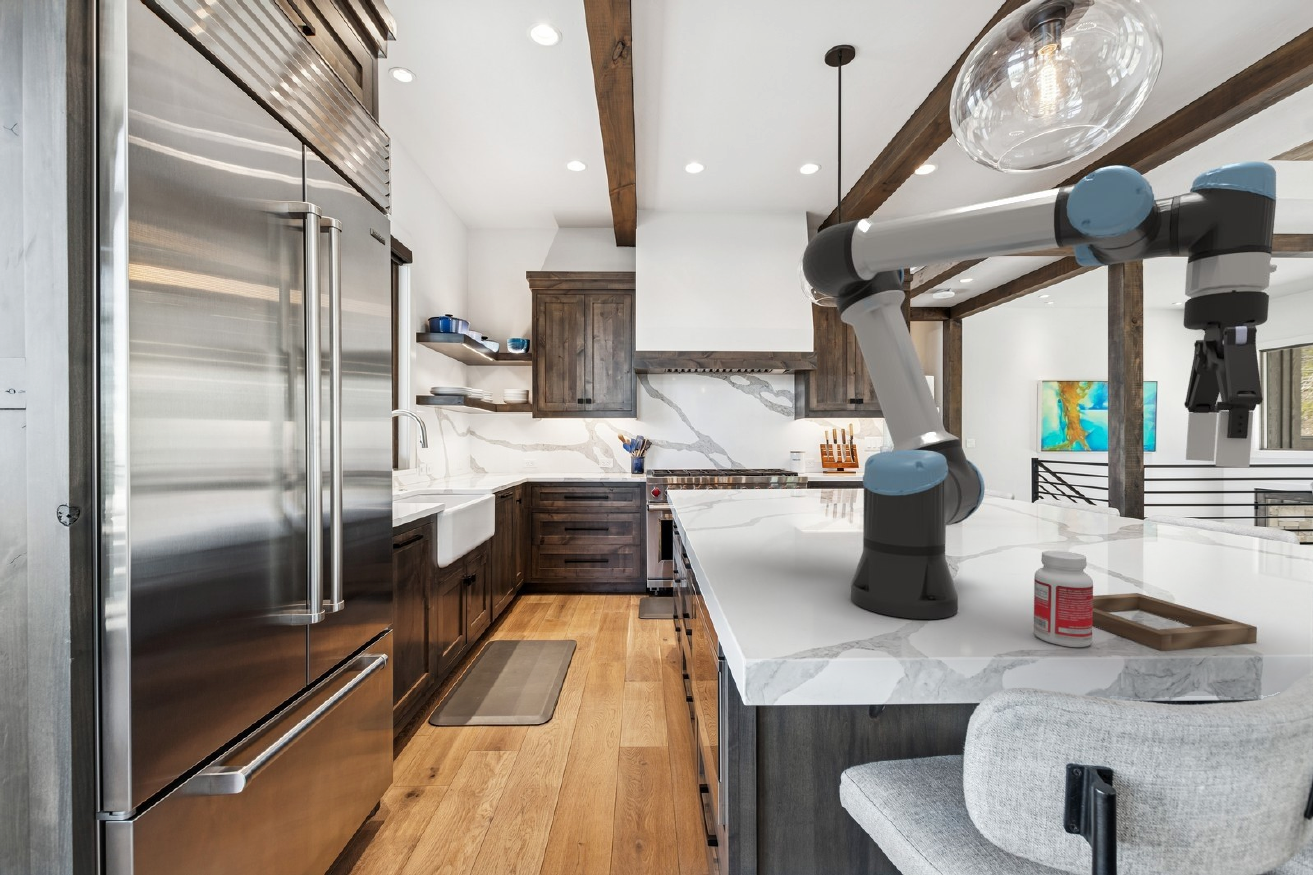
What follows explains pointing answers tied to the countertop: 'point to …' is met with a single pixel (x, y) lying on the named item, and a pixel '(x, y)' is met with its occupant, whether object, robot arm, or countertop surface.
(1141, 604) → the brown wooden square frame
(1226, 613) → the countertop surface
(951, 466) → the robot arm
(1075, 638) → the pill bottle
